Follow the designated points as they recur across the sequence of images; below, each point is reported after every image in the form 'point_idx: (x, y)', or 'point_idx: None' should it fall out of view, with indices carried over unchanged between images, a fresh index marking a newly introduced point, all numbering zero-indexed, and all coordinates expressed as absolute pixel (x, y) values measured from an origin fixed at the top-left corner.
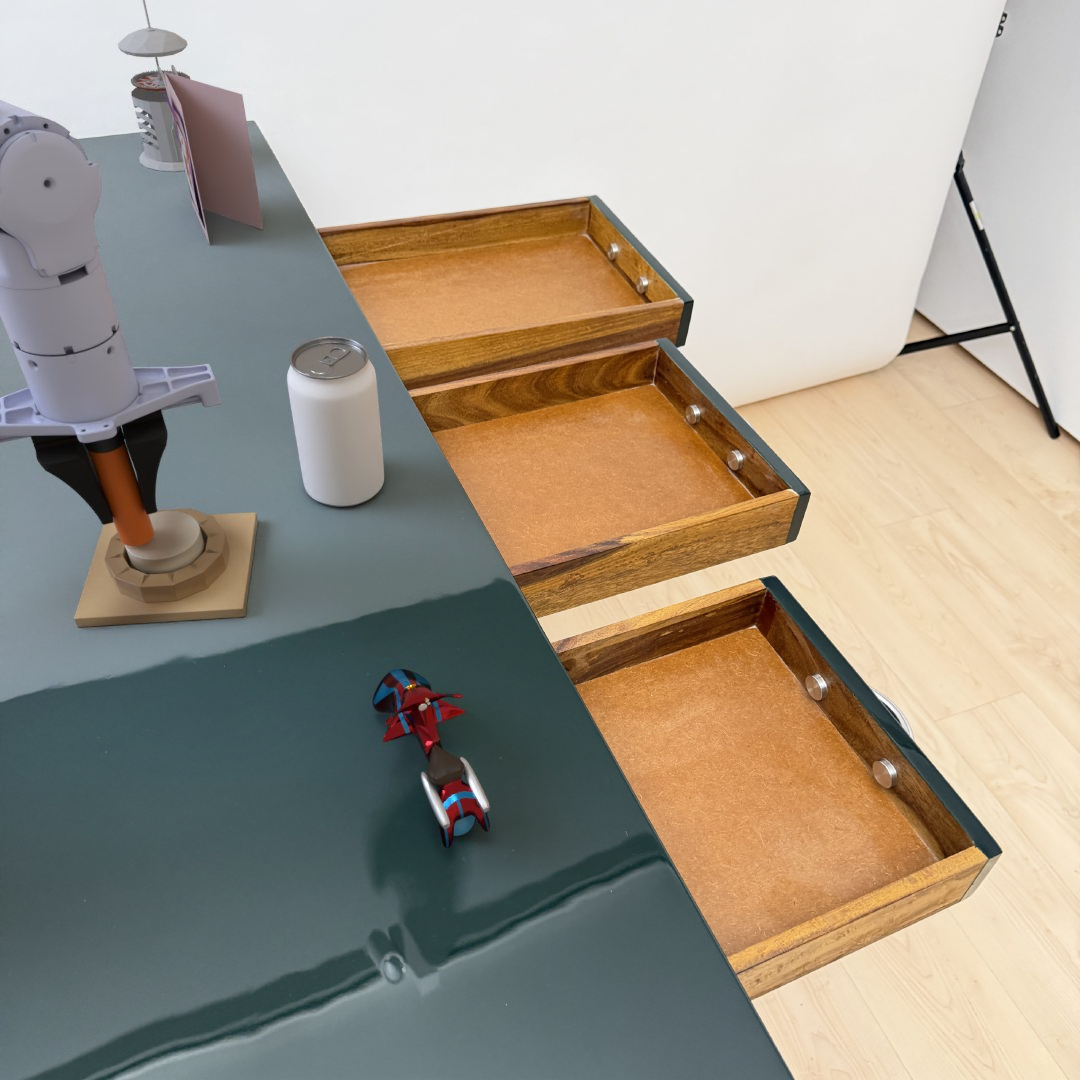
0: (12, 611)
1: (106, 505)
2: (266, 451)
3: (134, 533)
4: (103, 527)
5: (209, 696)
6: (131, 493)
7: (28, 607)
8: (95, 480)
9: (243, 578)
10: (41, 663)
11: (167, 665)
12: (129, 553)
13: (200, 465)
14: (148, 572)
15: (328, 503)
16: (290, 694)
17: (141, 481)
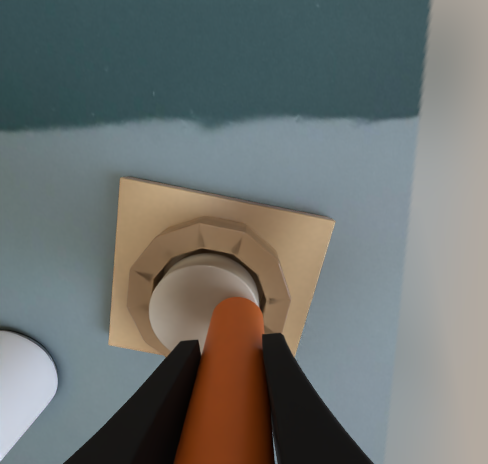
0: (400, 265)
1: (265, 370)
2: None
3: (233, 312)
4: None
5: (173, 39)
6: (202, 391)
7: (382, 267)
8: (280, 459)
9: (120, 233)
10: (376, 168)
11: (226, 117)
12: (253, 292)
13: None
14: (233, 261)
15: (23, 339)
16: (64, 7)
17: (144, 423)
